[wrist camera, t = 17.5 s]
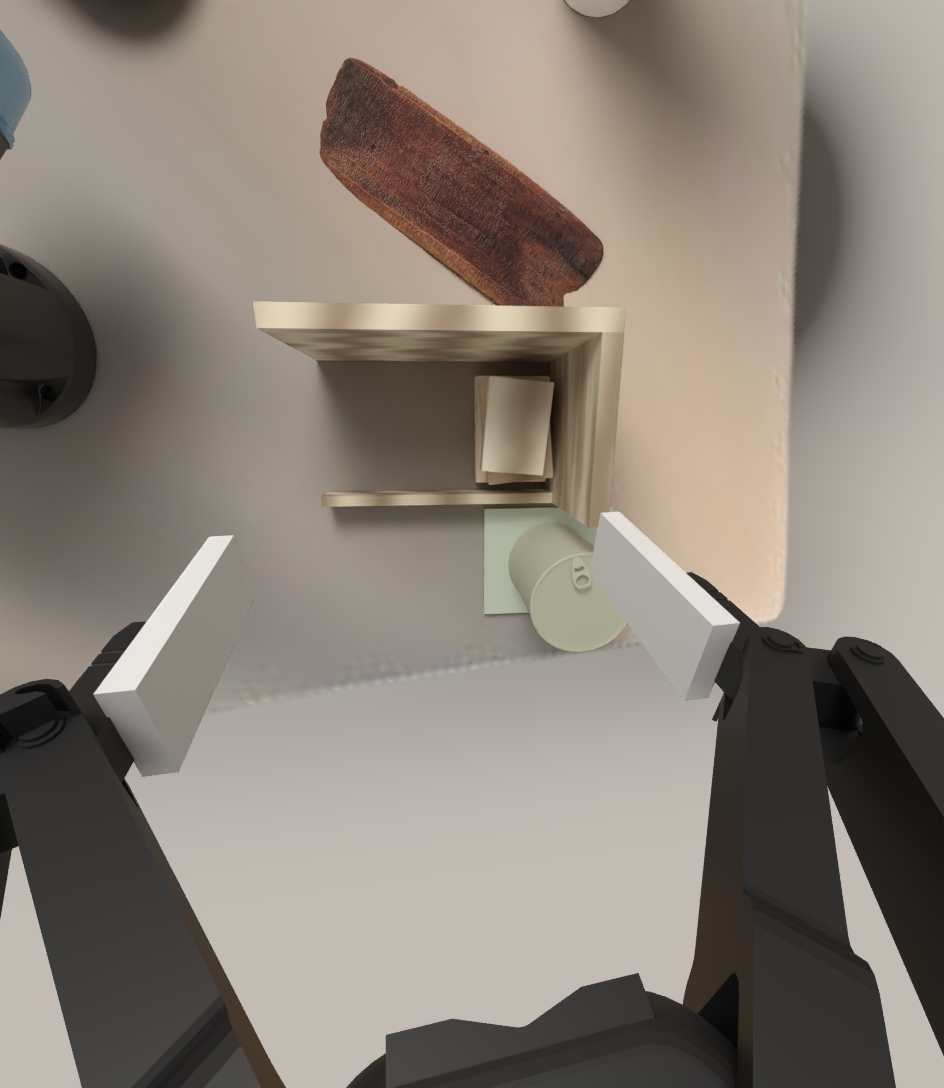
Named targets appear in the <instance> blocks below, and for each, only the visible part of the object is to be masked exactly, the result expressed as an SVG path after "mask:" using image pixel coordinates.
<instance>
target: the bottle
mask: <svg viewBox="0 0 944 1088" xmlns="http://www.w3.org/2000/svg"><path fill="white" fill-rule="evenodd" d="M565 1H566V3H567V4H568V5H569V6H570V7H571V8H573V9H574V10H576V11H577V12H579V13H581V14H582V15H585V16H591V17H598V18H599V17H603V16H607V15H611V14H614V13H615V12H617V11H618V10H619V9H621V8H622V7H623V6H625V5H626V4H627V3H628V2H629V0H565Z"/></svg>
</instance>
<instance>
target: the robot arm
mask: <svg viewBox="0 0 944 1088" xmlns="http://www.w3.org/2000/svg"><path fill="white" fill-rule="evenodd" d="M30 99H31V84H30V80H29V75H28V72H27V69H26V67H25V65H24V63H23V60H22V58H21V57H20V55H19V53H18V52H17V51H16V49H15V48H14V46H13V45H12V44H11V42H10V41H9V40H8V38H7V37H6V36H5V35H4V34H3V32H2V31H1V30H0V159H1V158H2V156H3V155H4V153H5V151H6V150H8V149H10V150H11V149H12V148H13V146H14V145H13V143H14V142H15V138H14V135H13V133H14V131H15V129H16V127H17V125H18V123H19V121H20V119H21V117H22V115H23V113H24V111H25V109H26V107H27V105H28V103H29V102H30ZM95 368H96V353H95V345H94V340H93V336H92V333H91V329H90V327H89V324H88V322H87V319H86V317H85V315H84V313H83V311H82V309H81V308H80V306H79V304H78V303H77V301H76V300H75V298H74V297H73V295H72V294H71V293H70V292H69V290H68V289H67V288H66V287H65V286H64V285H63V283H62V282H61V281H60V280H59V279H58V278H57V277H56V276H55V275H53V274H52V273H51V272H50V271H49V270H47V269H46V268H45V267H44V266H42V265H41V264H39V263H38V262H36V261H35V260H33V259H31V258H30V257H28V256H26V255H24V254H22V253H20V252H18V251H15V250H13V249H11V248H8V247H6V246H3V245H1V244H0V427H1V428H34V427H41V426H46V425H50V424H53V423H56V422H58V421H60V420H62V419H64V418H66V417H67V416H69V415H70V414H71V413H73V412H74V411H75V410H76V409H77V408H78V407H79V406H80V405H81V404H82V402H83V401H84V400H85V398H86V396H87V395H88V393H89V391H90V388H91V386H92V383H93V379H94V375H95ZM589 573H590V574H591V575H592V577H593V578H594V580H595V581H596V582H597V584H598V585H599V586H600V588H601V589H602V590H603V592H604V593H605V594H606V596H607V597H608V598H609V600H610V601H611V603H612V604H613V605H614V607H615V608H616V609H617V611H618V612H619V613H620V615H621V616H622V617H623V619H624V620H625V621H626V623H627V624H628V626H629V627H630V628H631V630H632V631H633V632H634V634H635V635H636V636H637V638H638V639H639V640H640V642H641V643H642V644H643V646H644V647H645V649H646V650H647V651H648V653H649V654H650V655H651V657H652V658H653V659H654V661H655V662H656V663H657V665H658V666H659V667H660V669H661V670H662V672H663V673H664V674H665V676H666V677H667V678H668V680H669V681H670V682H671V684H672V685H673V686H674V688H675V689H676V690H677V692H678V693H679V694H680V696H681V697H682V699H683V700H684V701H688V700H695V699H702V698H708V697H709V695H710V693H711V690H712V688H713V686H714V683H715V682H716V683H717V685H718V686H719V687H720V688H721V689H722V690H723V692H724V694H723V696H722V698H721V701H720V703H719V705H718V707H717V710H716V712H715V714H714V716H713V719H712V720H714V721H717V719H718V727H717V738H716V747H715V758H714V767H713V777H712V787H711V797H710V807H709V817H708V828H707V837H706V847H705V857H704V867H703V868H704V869H703V877H702V887H701V898H700V907H699V918H698V927H697V937H696V947H695V955H694V960H693V965H692V969H691V972H690V975H689V979H688V982H687V986H686V990H685V995H684V1000H683V1005H682V1004H680V1003H678V1002H675V1001H674V1000H671V999H669V998H667V997H665V996H662V995H658V994H655V993H652V992H648V991H645V989H644V987H643V984H642V981H641V979H640V976H639V973H637V974H633V975H628V976H624V977H620V978H616V979H612V980H608V981H604V982H600V983H595V984H591V985H587V986H583V987H580V988H579V989H578V990H576V991H575V992H574V993H572V994H571V995H569V996H568V997H567V998H565V999H564V1000H562V1001H561V1002H559V1003H558V1004H557V1005H555V1006H554V1007H552V1008H551V1009H550V1010H548V1011H547V1012H545V1013H544V1014H543V1015H541V1016H540V1017H539V1018H537V1019H536V1020H534V1021H533V1022H532V1023H530V1024H529V1025H527V1026H524V1027H520V1028H518V1027H517V1028H516V1027H509V1026H502V1025H494V1024H487V1023H479V1022H472V1021H465V1020H458V1019H449V1020H445V1021H441V1022H437V1023H433V1024H430V1025H425V1026H421V1027H417V1028H413V1029H409V1030H405V1031H400V1032H397V1033H393V1034H388V1035H386V1054H384V1055H383V1056H381V1057H380V1058H378V1059H377V1060H375V1061H374V1062H372V1063H371V1064H370V1065H369V1066H368V1067H367V1068H366V1069H364V1070H363V1071H362V1072H361V1073H360V1074H359V1075H358V1076H356V1077H355V1078H354V1080H353V1081H352V1082H351V1083H350V1084H349V1085H348V1086H347V1088H896V1085H895V1080H894V1074H893V1068H892V1062H891V1056H890V1051H889V1045H888V1039H887V1034H886V1028H885V1022H884V1016H883V1010H882V1005H881V999H880V993H879V990H878V986H877V982H876V979H875V975H874V973H873V971H872V970H871V968H870V966H869V964H868V962H866V961H865V960H863V959H862V958H860V957H859V956H857V955H856V954H854V952H853V950H852V948H851V946H850V942H849V938H848V931H847V925H846V917H845V910H844V902H843V896H842V889H841V881H840V874H839V867H838V860H837V853H836V845H835V838H834V831H833V824H832V817H831V810H830V803H829V795H828V789H827V786H828V788H829V791H830V793H831V795H832V798H833V800H834V802H835V805H836V807H837V809H838V811H839V814H840V816H841V819H842V821H843V823H844V825H845V828H846V830H847V833H848V835H849V837H850V839H851V842H852V844H853V846H854V849H855V851H856V853H857V856H858V858H859V860H860V862H861V865H862V867H863V870H864V872H865V874H866V877H867V879H868V881H869V884H870V886H871V888H872V891H873V893H874V895H875V897H876V900H877V902H878V904H879V906H880V909H881V911H882V914H883V916H884V918H885V921H886V923H887V925H888V928H889V930H890V932H891V935H892V937H893V939H894V941H895V944H896V946H897V949H898V951H899V953H900V956H901V958H902V960H903V962H904V965H905V967H906V969H907V972H908V974H909V976H910V979H911V981H912V983H913V985H914V988H915V990H916V993H917V995H918V997H919V1000H920V1002H921V1004H922V1006H923V1009H924V1011H925V1014H926V1016H927V1018H928V1021H929V1023H930V1025H931V1027H932V1030H933V1032H934V1034H935V1037H936V1039H937V1041H938V1044H939V1046H940V1048H941V1051H942V1053H943V1055H944V718H943V717H942V715H941V714H940V713H939V712H938V710H937V709H936V708H935V706H934V705H933V704H932V702H931V701H930V700H929V699H928V697H927V696H926V695H925V694H924V692H923V691H922V690H921V688H920V687H919V686H918V685H917V683H916V682H915V681H914V679H913V678H912V677H911V676H910V674H909V673H908V672H907V670H906V669H905V668H904V667H903V665H902V664H901V663H900V662H899V660H898V659H897V658H896V657H895V656H894V655H893V654H892V653H890V652H889V651H887V650H886V649H884V648H882V647H881V646H880V645H877V644H876V643H872V642H871V641H868V640H864V639H860V638H856V637H842V638H839V639H838V640H837V641H836V643H835V645H834V647H833V648H832V650H823V649H815V648H807V647H806V646H805V645H804V644H802V642H800V641H799V640H798V639H797V638H795V637H793V636H792V635H790V634H788V633H786V632H783V631H781V630H778V629H774V628H769V627H759V626H758V625H757V624H756V623H755V622H754V621H752V620H751V619H750V618H749V617H748V616H747V615H746V614H744V613H743V612H742V611H741V610H740V609H739V608H738V607H737V606H735V605H734V604H733V603H732V602H731V601H728V600H727V598H726V597H725V596H724V595H723V594H722V593H721V592H718V590H717V589H716V588H715V587H714V586H713V585H712V584H710V583H709V582H708V581H707V580H705V579H703V578H701V577H700V576H698V575H696V574H694V573H692V572H689V573H685V572H684V571H683V570H682V569H681V568H680V567H679V566H678V565H677V564H676V563H674V562H673V561H672V560H671V559H670V558H669V557H668V556H667V555H666V554H665V553H664V552H662V551H661V550H660V549H659V548H658V547H657V546H656V545H655V544H654V543H653V542H652V541H651V540H649V539H648V538H647V537H646V536H645V535H644V534H643V533H642V532H641V531H640V530H639V529H637V528H636V527H635V526H634V525H633V524H632V523H631V522H630V521H629V520H628V519H627V518H625V517H624V516H623V515H622V514H621V513H620V512H605V513H600V518H599V524H598V529H597V535H596V540H595V545H594V551H593V556H592V562H591V567H590V572H589ZM252 603H253V599H252V596H251V592H250V589H249V585H248V582H247V578H246V575H245V572H244V568H243V565H242V561H241V558H240V554H239V551H238V548H237V544H236V541H235V537H234V535H230V536H214V537H209V538H208V539H207V540H206V542H205V543H204V545H203V546H202V547H201V549H200V550H199V551H198V553H197V554H196V555H195V557H194V558H193V559H192V561H191V562H190V564H189V565H188V566H187V568H186V569H185V570H184V572H183V573H182V574H181V576H180V577H179V578H178V580H177V581H176V583H175V584H174V585H173V587H172V588H171V589H170V591H169V592H168V593H167V595H166V596H165V597H164V599H163V600H162V602H161V603H160V604H159V606H158V607H157V608H156V610H155V611H154V612H153V614H152V615H151V616H150V618H149V619H148V621H146V622H134V623H131V624H130V625H128V626H127V627H125V628H124V629H123V630H121V631H120V632H119V633H117V634H116V635H114V636H113V637H112V638H111V640H110V641H109V642H108V643H107V645H106V646H105V647H104V648H103V650H102V651H101V652H102V653H101V654H99V655H98V656H97V657H96V658H95V660H94V661H93V662H92V663H91V664H92V666H90V667H88V668H87V670H86V671H85V672H84V673H83V675H82V676H81V677H80V678H79V680H78V681H77V682H76V683H75V685H74V686H73V687H72V688H71V690H70V691H69V692H68V690H67V688H66V687H65V685H64V684H62V683H61V682H60V681H59V680H52V679H43V680H37V681H31V682H29V683H26V684H23V685H20V686H17V687H14V688H12V689H10V690H9V691H7V692H5V693H3V694H1V695H0V917H1V911H2V905H3V899H4V893H5V887H6V881H7V875H8V869H9V863H10V857H11V851H12V849H13V848H15V847H18V846H19V849H20V853H21V856H22V860H23V864H24V868H25V872H26V875H27V879H28V883H29V887H30V891H31V894H32V898H33V902H34V906H35V910H36V914H37V917H38V921H39V925H40V929H41V933H42V937H43V940H44V944H45V948H46V952H47V956H48V959H49V963H50V967H51V971H52V974H53V979H54V983H55V986H56V990H57V994H58V997H59V1002H60V1005H61V1009H62V1013H63V1017H64V1020H65V1025H66V1028H67V1032H68V1036H69V1040H70V1044H71V1047H72V1051H73V1055H74V1059H75V1063H76V1067H77V1071H78V1074H79V1078H80V1082H81V1086H82V1088H286V1087H285V1085H284V1084H283V1082H282V1080H281V1079H280V1077H279V1075H278V1074H277V1072H276V1070H275V1069H274V1067H273V1065H272V1063H271V1061H270V1059H269V1058H268V1055H267V1054H266V1052H265V1050H264V1048H263V1046H262V1044H261V1042H260V1040H259V1038H258V1036H257V1034H256V1032H255V1030H254V1028H253V1026H252V1024H251V1023H250V1021H249V1019H248V1017H247V1015H246V1013H245V1011H244V1009H243V1007H242V1005H241V1003H240V1001H239V999H238V997H237V995H236V993H235V991H234V989H233V987H232V985H231V984H230V982H229V980H228V978H227V976H226V974H225V972H224V970H223V968H222V966H221V964H220V962H219V960H218V958H217V956H216V954H215V952H214V951H213V948H212V946H211V945H210V943H209V941H208V939H207V937H206V935H205V933H204V931H203V929H202V927H201V925H200V923H199V921H198V920H197V917H196V915H195V913H194V912H193V909H192V908H191V906H190V904H189V902H188V900H187V898H186V896H185V894H184V892H183V890H182V888H181V886H180V884H179V882H178V880H177V878H176V876H175V875H174V872H173V871H172V869H171V867H170V865H169V863H168V861H167V859H166V857H165V855H164V853H163V851H162V849H161V847H160V845H159V843H158V841H157V839H156V837H155V835H154V834H153V832H152V830H151V828H150V826H149V824H148V822H147V820H146V818H145V816H144V814H143V812H142V810H141V808H140V806H139V804H138V803H137V800H136V799H135V797H134V795H133V793H132V791H131V789H130V787H129V785H128V784H127V782H126V781H125V779H124V778H125V776H126V774H127V772H128V771H129V769H130V767H131V765H132V763H133V761H134V763H135V765H136V766H137V768H138V770H139V771H140V773H141V775H142V776H143V777H144V776H152V775H159V774H165V773H173V772H179V770H180V768H181V765H182V763H183V761H184V759H185V756H186V754H187V752H188V749H189V747H190V745H191V742H192V740H193V738H194V736H195V733H196V731H197V728H198V726H199V724H200V722H201V720H202V717H203V715H204V713H205V710H206V708H207V706H208V703H209V701H210V699H211V697H212V694H213V692H214V690H215V687H216V685H217V683H218V681H219V678H220V676H221V674H222V671H223V669H224V667H225V665H226V662H227V660H228V658H229V655H230V653H231V651H232V648H233V646H234V644H235V642H236V639H237V637H238V635H239V632H240V630H241V628H242V626H243V623H244V621H245V619H246V616H247V614H248V612H249V610H250V607H251V605H252Z"/></svg>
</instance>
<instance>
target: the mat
mask: <svg viewBox="0 0 944 1088" xmlns="http://www.w3.org/2000/svg"><path fill="white" fill-rule="evenodd" d="M610 512H614V507H613V506H610ZM549 522H556V523H562V524H566V525H568V526H571V527H572V528H574V529H576V530H577V531H578V532H579V533H580V534H581V535H582V536H583V537H584V538H585V539H586V540H587V541H588V542H590V543H591V544H592V545H595V540H596V535H597V529H598V528H588V527H587V526H585V525H584V524H582V523H581V522H579V521H578V520H576V519H575V518H573V517H572V516H570V515H569V514H568V513H566V512H565V511H563V510H562V509H560V508H559V507H531V508H484V614H502V613H529V612H528V610H527V608H526V605H525V603H524V601H523V599H522V597H521V595H520V593H519V591H518V590H517V589H516V587H515V586H514V584H513V583H512V581H511V578H510V575H509V569H508V561H509V556H510V552H511V550H512V547H513V545H514V544H515V542H516V541H517V539H518V538H519V537H520V536H521V535H522V534H523V533H524V532H526V531H527V530H528V529H530V528H532V527H534V526H536V525H539V524H543V523H549Z"/></svg>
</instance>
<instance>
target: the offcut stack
mask: <svg viewBox="0 0 944 1088" xmlns="http://www.w3.org/2000/svg"><path fill="white" fill-rule="evenodd" d="M549 381H550V376H476V377H475V378H474V394H475V481H476V483H483V482H487V483H488V484H489V485H494V484H503V483H511V482H545V478H553V466H552V448H551V430H550V413H551V405H552V397H553V389H554V383H553V382H549Z"/></svg>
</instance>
